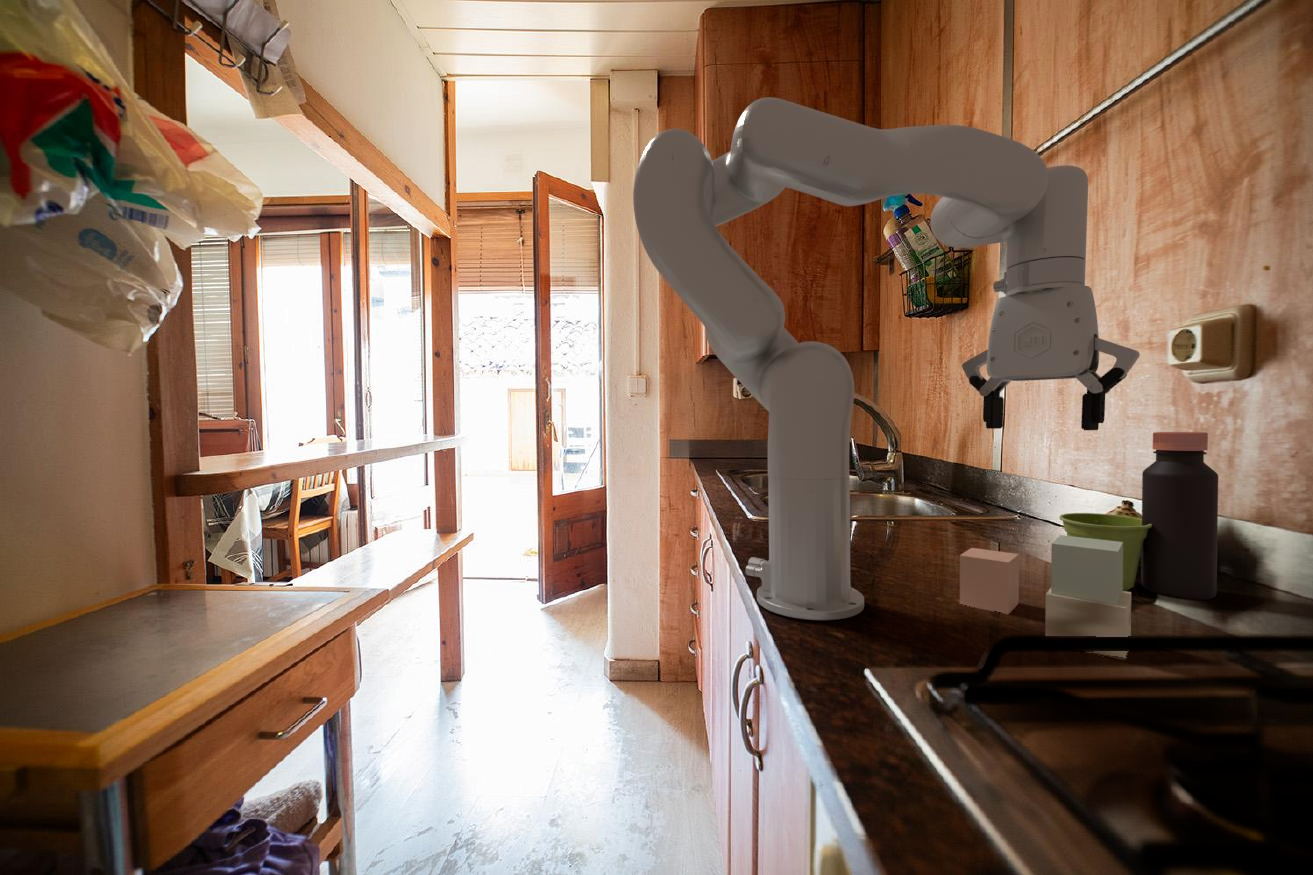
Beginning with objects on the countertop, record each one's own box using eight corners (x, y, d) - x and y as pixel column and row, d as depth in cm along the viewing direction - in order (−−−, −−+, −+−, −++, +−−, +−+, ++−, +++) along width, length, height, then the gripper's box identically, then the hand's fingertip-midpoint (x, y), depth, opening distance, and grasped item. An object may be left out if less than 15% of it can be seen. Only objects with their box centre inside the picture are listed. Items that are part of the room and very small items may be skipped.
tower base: (1045, 644, 53) (1045, 594, 53) (1056, 626, 58) (1056, 580, 57) (1125, 662, 49) (1125, 608, 49) (1130, 642, 53) (1131, 592, 53)
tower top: (1051, 593, 53) (1051, 543, 53) (1060, 582, 57) (1060, 535, 57) (1117, 605, 50) (1118, 551, 50) (1122, 592, 53) (1123, 542, 53)
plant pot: (1171, 597, 66) (1172, 526, 65) (1083, 594, 67) (1083, 525, 67) (1121, 575, 75) (1122, 513, 74) (1045, 573, 77) (1045, 512, 76)
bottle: (1183, 583, 71) (1185, 431, 70) (1233, 601, 64) (1236, 432, 63) (1127, 583, 71) (1129, 432, 71) (1171, 600, 65) (1173, 433, 64)
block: (959, 605, 65) (959, 555, 64) (971, 594, 68) (971, 547, 68) (1008, 615, 61) (1008, 562, 61) (1018, 603, 65) (1018, 554, 64)
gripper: (951, 291, 68) (948, 428, 68) (1131, 259, 54) (1124, 431, 54) (979, 299, 72) (975, 427, 73) (1151, 271, 58) (1145, 430, 59)
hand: (1039, 429), depth 63 cm, fingers open, 9 cm apart
